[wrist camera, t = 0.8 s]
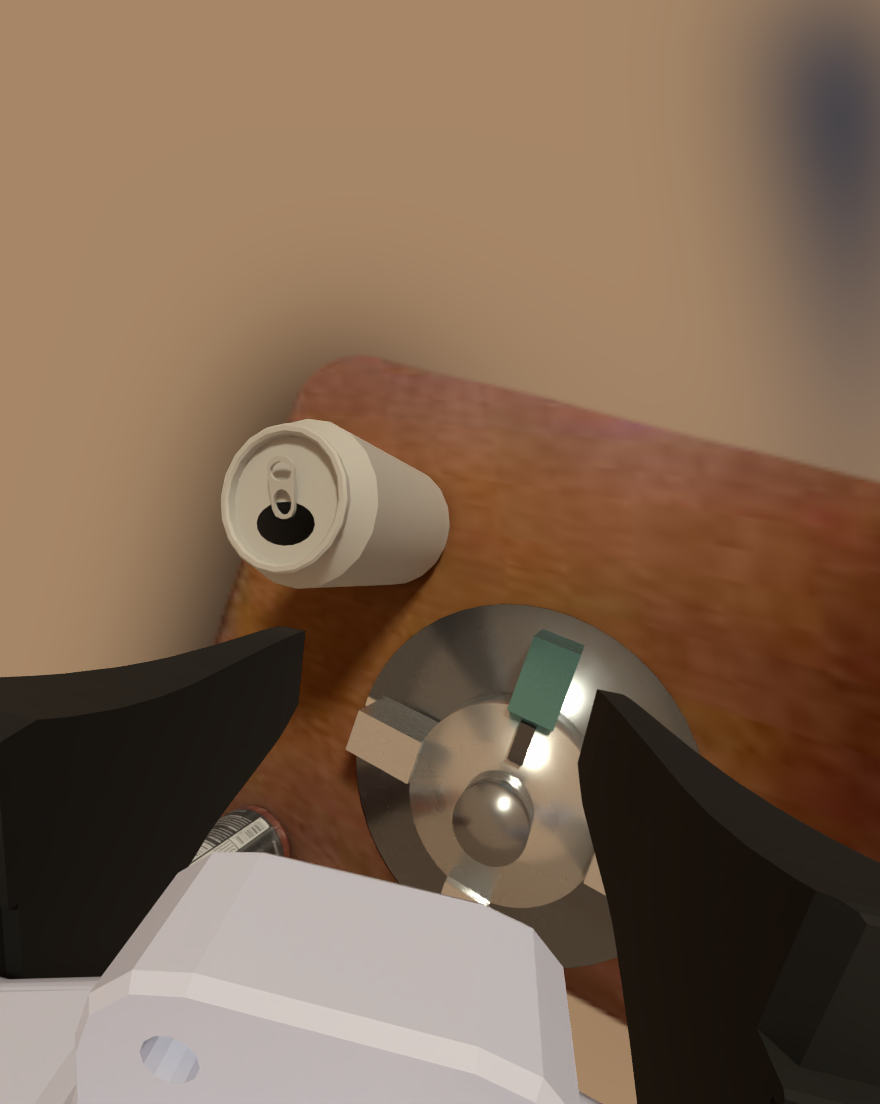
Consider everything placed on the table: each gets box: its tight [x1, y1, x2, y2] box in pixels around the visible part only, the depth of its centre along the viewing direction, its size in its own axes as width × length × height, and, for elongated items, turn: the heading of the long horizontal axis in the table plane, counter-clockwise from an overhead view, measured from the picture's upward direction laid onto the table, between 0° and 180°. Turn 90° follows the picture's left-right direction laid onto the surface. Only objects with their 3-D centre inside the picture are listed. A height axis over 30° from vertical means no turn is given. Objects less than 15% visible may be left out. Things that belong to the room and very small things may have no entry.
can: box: [221, 419, 450, 589], centre depth 25 cm, size 8×8×12 cm
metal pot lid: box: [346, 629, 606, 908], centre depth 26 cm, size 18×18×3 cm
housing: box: [356, 604, 699, 968], centre depth 25 cm, size 20×20×6 cm
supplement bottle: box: [189, 805, 290, 866], centre depth 28 cm, size 6×6×11 cm
